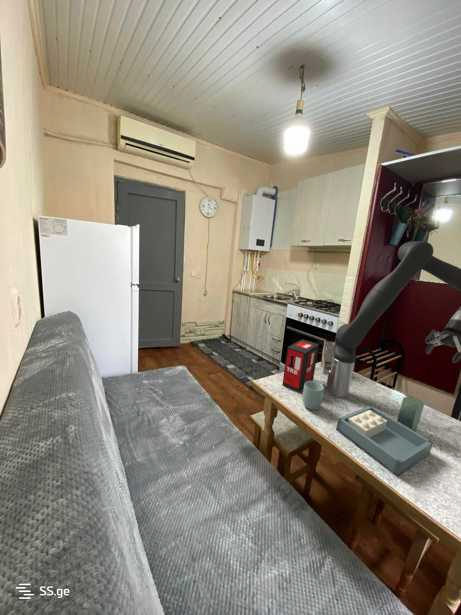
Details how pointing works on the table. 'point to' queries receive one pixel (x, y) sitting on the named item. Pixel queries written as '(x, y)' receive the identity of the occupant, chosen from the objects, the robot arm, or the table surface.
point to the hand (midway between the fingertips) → (439, 357)
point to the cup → (312, 394)
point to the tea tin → (410, 412)
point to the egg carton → (368, 423)
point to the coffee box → (327, 356)
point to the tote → (388, 442)
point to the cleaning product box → (300, 364)
